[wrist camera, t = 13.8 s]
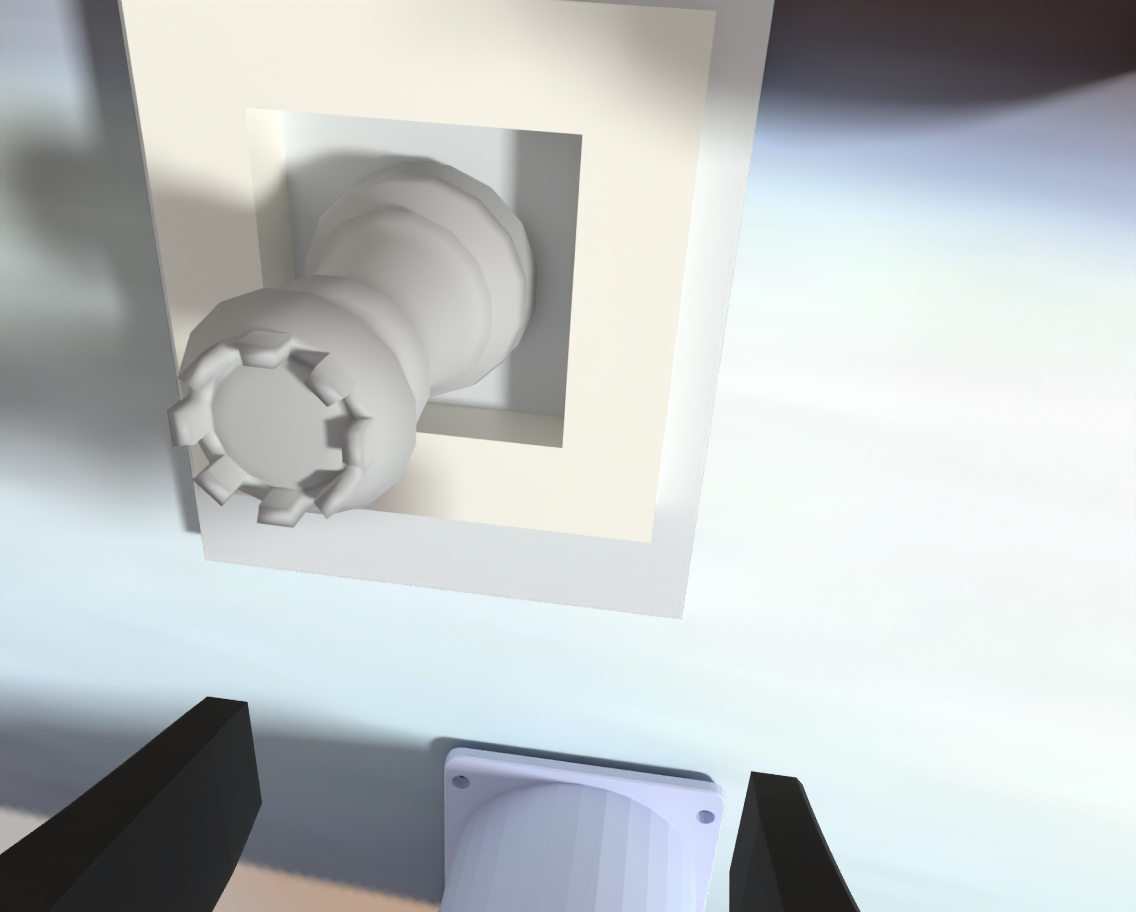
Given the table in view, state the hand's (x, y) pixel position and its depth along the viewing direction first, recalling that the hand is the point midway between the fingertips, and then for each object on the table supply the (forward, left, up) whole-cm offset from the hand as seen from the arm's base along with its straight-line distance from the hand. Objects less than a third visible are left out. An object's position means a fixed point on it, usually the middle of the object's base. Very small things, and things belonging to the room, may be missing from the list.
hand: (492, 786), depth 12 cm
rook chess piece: (+5, +3, -9) cm, 10 cm away
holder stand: (+5, +3, -9) cm, 11 cm away
